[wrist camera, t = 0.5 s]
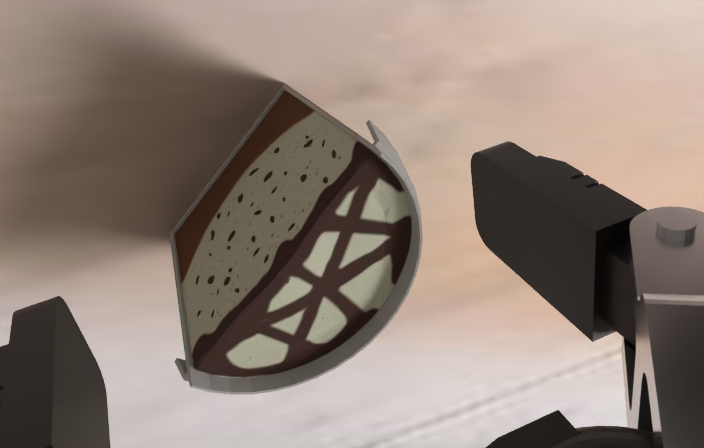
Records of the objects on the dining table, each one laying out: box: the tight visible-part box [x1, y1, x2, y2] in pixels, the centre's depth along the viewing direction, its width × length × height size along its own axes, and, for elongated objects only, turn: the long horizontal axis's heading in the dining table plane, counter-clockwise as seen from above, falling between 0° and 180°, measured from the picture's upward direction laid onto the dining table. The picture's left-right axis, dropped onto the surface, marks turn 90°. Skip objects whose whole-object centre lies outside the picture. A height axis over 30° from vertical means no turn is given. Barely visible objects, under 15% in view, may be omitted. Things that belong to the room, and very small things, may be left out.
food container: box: [169, 83, 422, 394], centre depth 29 cm, size 12×6×10 cm, turn 137°
